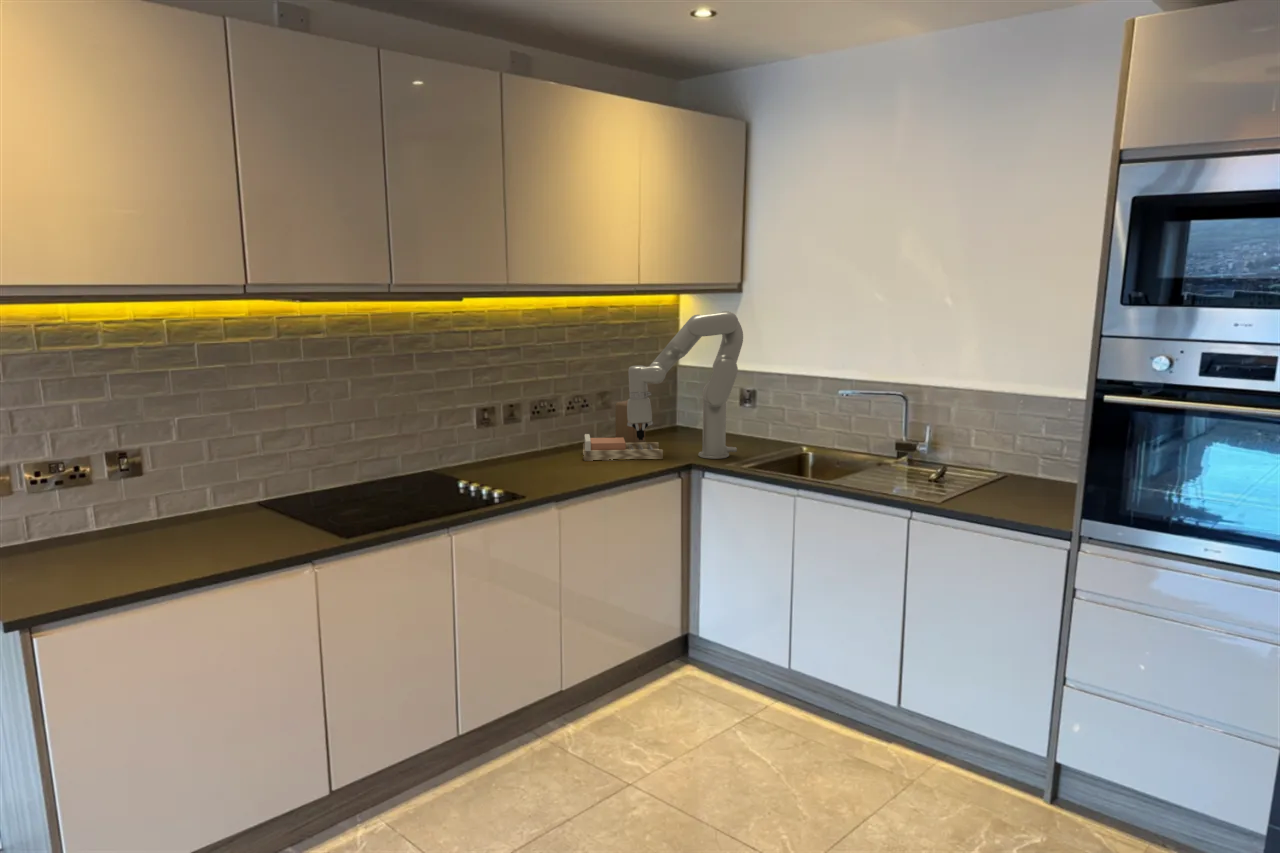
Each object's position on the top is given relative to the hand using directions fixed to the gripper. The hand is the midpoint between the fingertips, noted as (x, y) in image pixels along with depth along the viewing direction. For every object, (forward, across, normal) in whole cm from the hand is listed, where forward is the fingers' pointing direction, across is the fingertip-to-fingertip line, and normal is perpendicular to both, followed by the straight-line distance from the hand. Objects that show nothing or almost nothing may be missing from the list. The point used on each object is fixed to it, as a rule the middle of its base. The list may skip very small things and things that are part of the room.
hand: (640, 439), depth 342 cm
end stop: (+4, +22, 0) cm, 23 cm away
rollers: (+5, +8, 0) cm, 9 cm away
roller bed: (+7, +8, 0) cm, 10 cm away
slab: (+3, +14, 0) cm, 14 cm away
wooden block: (+7, +3, -19) cm, 21 cm away
